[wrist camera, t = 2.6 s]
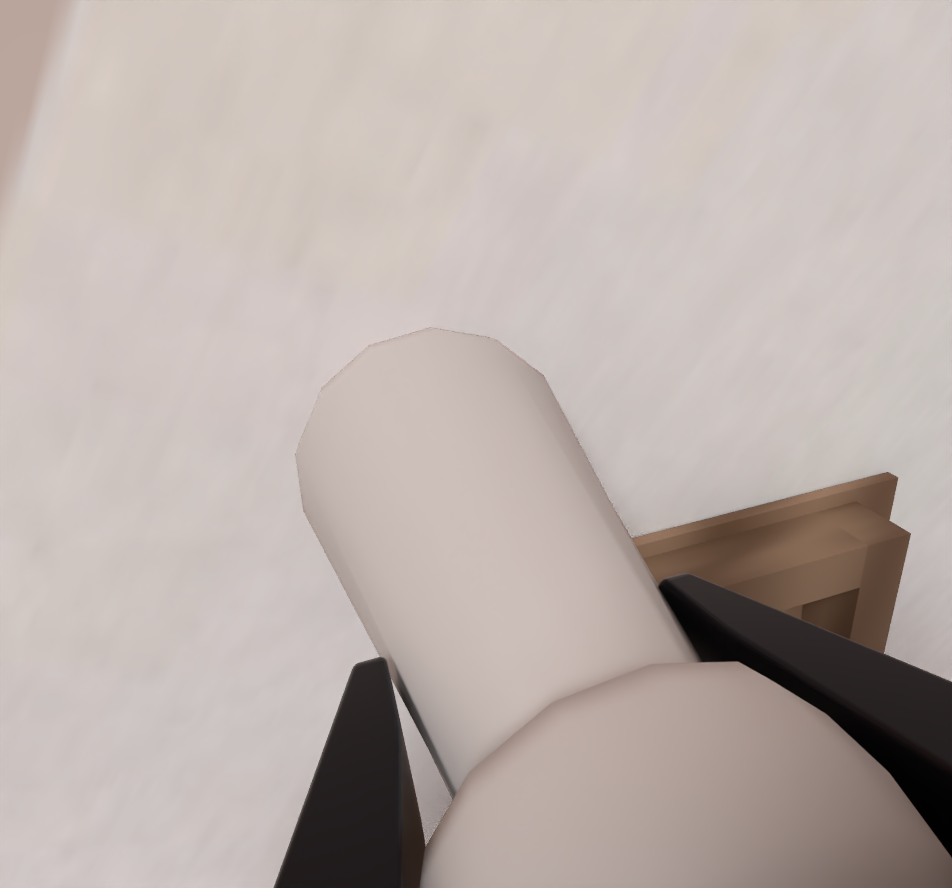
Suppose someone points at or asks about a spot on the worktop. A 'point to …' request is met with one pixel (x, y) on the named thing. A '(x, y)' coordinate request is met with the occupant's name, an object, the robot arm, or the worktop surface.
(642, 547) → the brown flat rectangular frame
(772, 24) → the worktop surface
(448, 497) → the salt shaker
